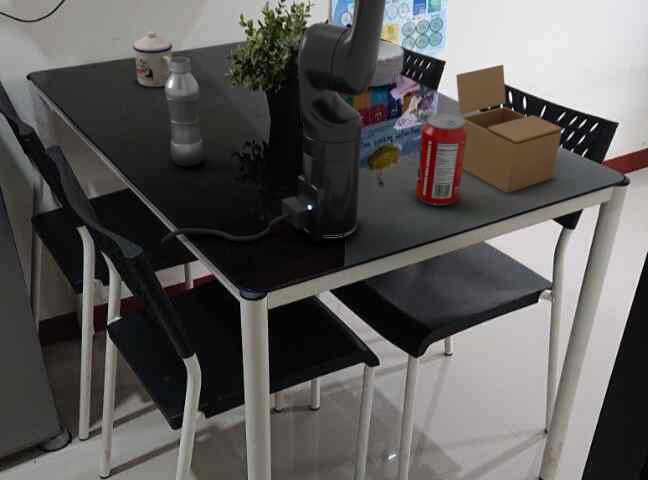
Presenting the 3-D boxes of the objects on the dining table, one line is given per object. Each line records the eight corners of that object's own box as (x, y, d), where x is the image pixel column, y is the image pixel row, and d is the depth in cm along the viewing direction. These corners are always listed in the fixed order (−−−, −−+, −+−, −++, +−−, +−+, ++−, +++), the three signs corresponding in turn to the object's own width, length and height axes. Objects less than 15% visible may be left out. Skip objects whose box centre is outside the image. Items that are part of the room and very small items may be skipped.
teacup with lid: (129, 80, 190) (123, 31, 183) (161, 72, 195) (156, 24, 188) (158, 94, 183) (153, 43, 176) (189, 85, 188) (186, 35, 181)
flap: (460, 114, 149) (459, 114, 149) (505, 103, 155) (504, 103, 155) (457, 74, 146) (456, 74, 147) (503, 64, 152) (501, 64, 152)
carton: (453, 163, 155) (460, 113, 149) (497, 151, 161) (505, 102, 155) (506, 193, 145) (516, 140, 139) (551, 178, 151) (562, 127, 145)
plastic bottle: (173, 171, 149) (163, 67, 137) (169, 157, 154) (159, 55, 143) (207, 168, 151) (200, 64, 139) (202, 154, 156) (195, 53, 144)
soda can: (435, 212, 138) (444, 132, 129) (405, 196, 143) (413, 117, 134) (466, 201, 142) (478, 122, 133) (437, 185, 147) (446, 108, 138)
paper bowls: (371, 95, 185) (373, 62, 181) (327, 78, 194) (328, 46, 190) (414, 82, 194) (417, 50, 189) (370, 66, 203) (372, 35, 198)
